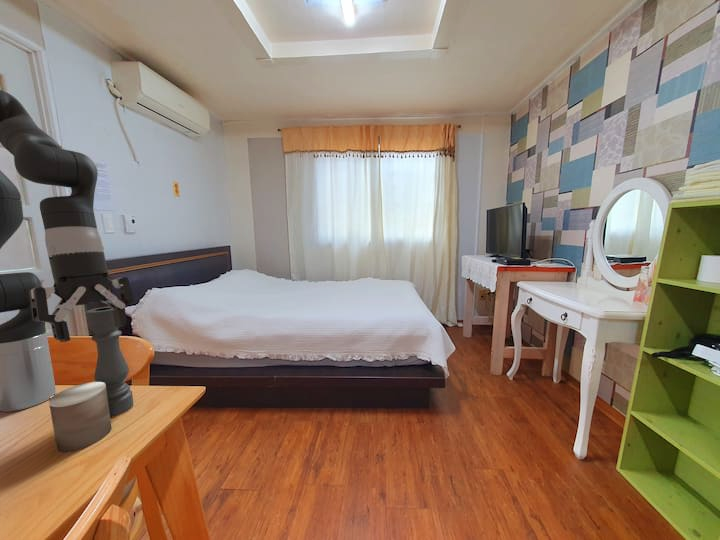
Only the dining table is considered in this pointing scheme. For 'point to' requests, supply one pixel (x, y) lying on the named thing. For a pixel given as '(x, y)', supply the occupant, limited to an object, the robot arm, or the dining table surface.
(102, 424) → the gray cylinder
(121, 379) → the candle holder
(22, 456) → the dining table surface
